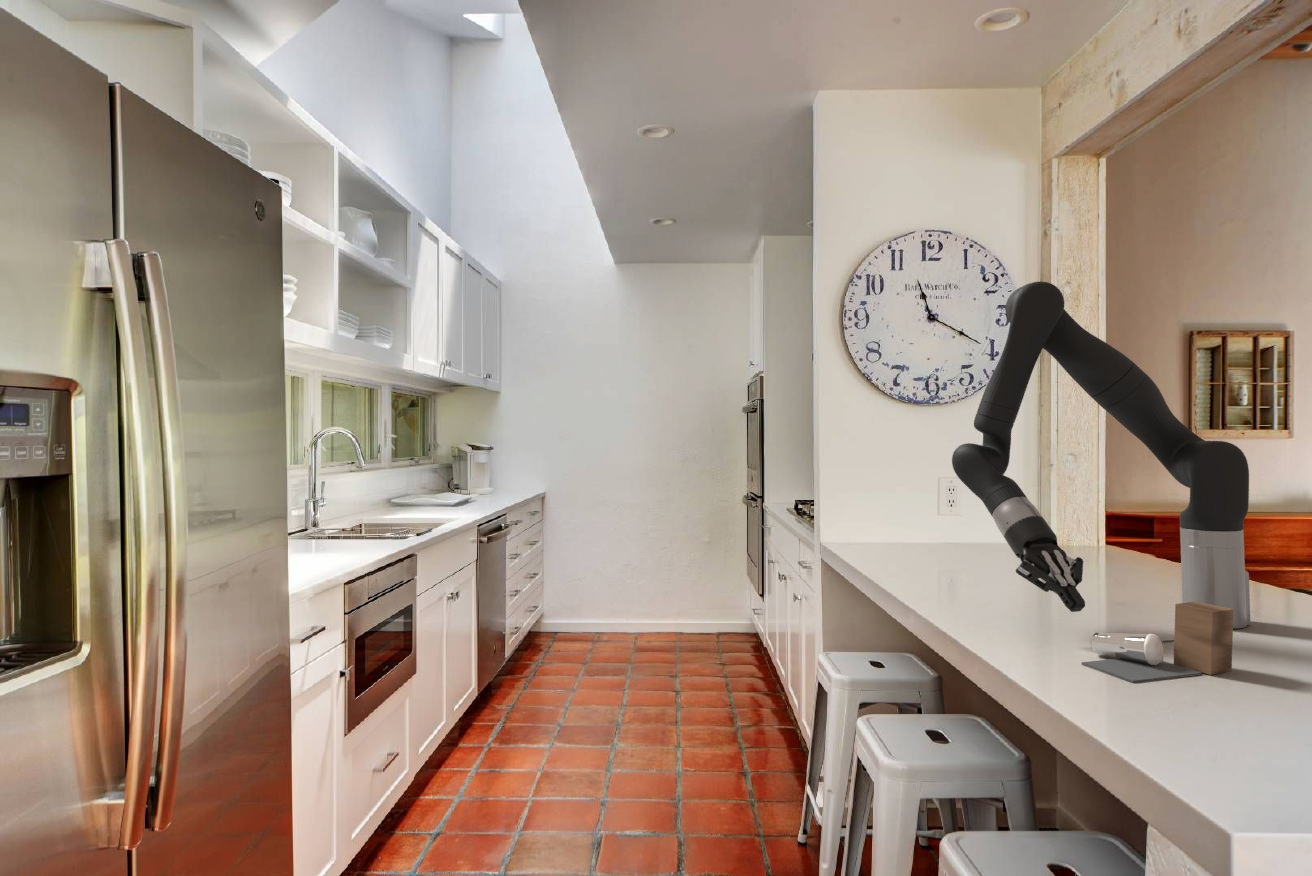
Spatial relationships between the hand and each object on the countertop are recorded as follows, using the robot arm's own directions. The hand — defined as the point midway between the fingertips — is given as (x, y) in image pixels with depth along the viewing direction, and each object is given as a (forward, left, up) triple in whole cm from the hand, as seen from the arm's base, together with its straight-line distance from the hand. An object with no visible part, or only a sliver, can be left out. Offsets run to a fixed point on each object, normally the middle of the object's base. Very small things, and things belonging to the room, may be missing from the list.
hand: (1079, 609), depth 120 cm
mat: (+2, +13, -6) cm, 15 cm away
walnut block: (-7, +15, -6) cm, 18 cm away
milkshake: (+2, +5, -4) cm, 7 cm away
